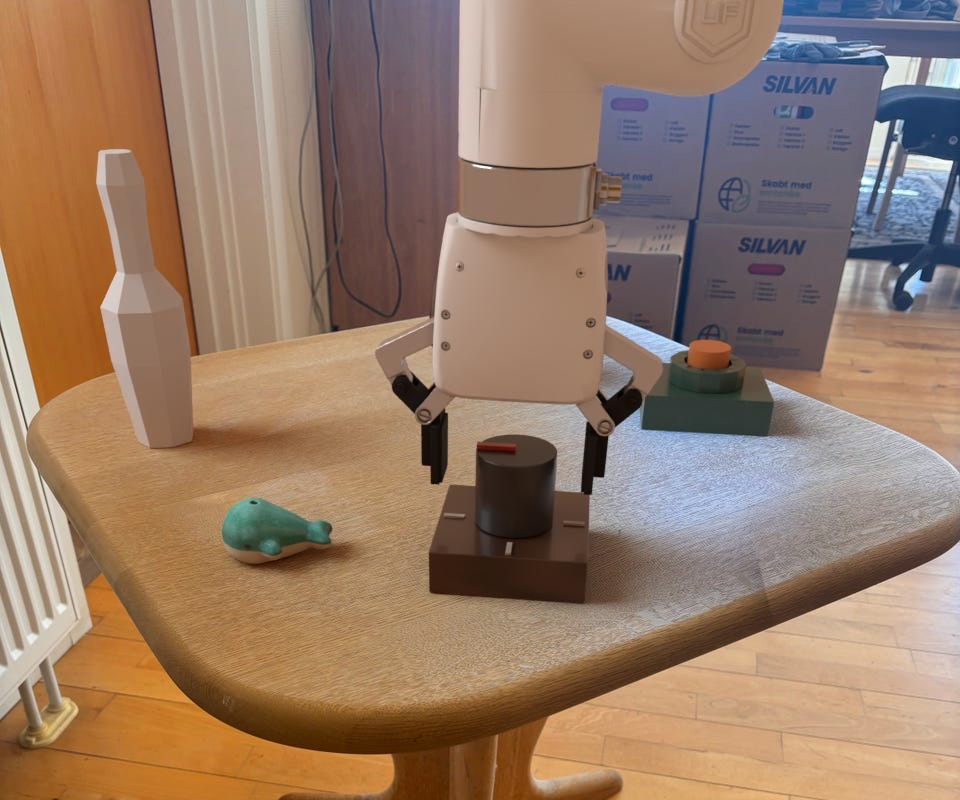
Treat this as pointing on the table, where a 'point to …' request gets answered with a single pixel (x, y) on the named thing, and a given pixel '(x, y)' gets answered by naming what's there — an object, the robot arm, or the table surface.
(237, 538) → the whale figurine
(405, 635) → the table surface
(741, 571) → the table surface
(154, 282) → the low poly bottle
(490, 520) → the dial
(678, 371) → the green button base
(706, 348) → the orange push button
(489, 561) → the dial panel
